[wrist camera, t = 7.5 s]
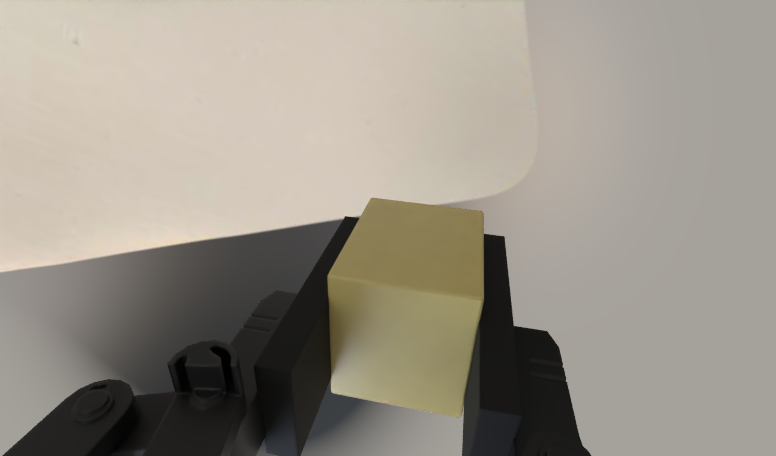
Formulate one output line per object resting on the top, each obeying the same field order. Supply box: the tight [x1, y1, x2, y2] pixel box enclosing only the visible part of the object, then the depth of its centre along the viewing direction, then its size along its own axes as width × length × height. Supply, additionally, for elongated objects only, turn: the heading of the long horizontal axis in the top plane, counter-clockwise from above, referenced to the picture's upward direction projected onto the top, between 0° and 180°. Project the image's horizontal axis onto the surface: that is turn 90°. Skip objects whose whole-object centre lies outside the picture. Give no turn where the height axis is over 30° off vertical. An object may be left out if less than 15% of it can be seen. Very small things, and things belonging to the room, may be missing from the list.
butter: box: [327, 198, 484, 418], centre depth 12 cm, size 4×4×4 cm
